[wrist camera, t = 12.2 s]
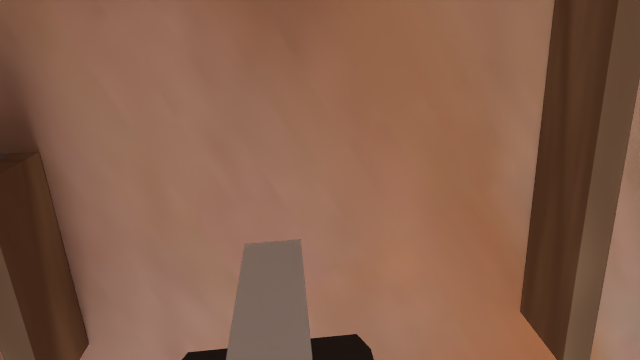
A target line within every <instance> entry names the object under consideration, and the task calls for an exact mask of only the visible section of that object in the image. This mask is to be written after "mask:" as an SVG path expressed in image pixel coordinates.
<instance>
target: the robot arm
mask: <svg viewBox="0 0 640 360" xmlns="http://www.w3.org/2000/svg"><path fill="white" fill-rule="evenodd" d="M182 360H374V359H373V355H372V352H371V349H370V348H369V347H368V346H367V345H366V344H365V343H364V341H363V340H362V339H361V338H360V337H359V336H358V335H357V334H353V335H342V336H332V337H322V338H312V339H310V330H309V320H308V310H307V300H306V289H305V279H304V269H303V259H302V249H301V239H298V240H287V241H275V242H263V243H252V244H245V245H244V251H243V258H242V264H241V270H240V276H239V282H238V288H237V295H236V301H235V307H234V313H233V319H232V325H231V332H230V338H229V344H228V349H218V350H208V351H198V352H188V353H187V354H186V356H185V357H184V358H183V359H182Z"/></svg>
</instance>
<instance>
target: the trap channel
mask: <svg viewBox="0 0 640 360" xmlns="http://www.w3.org/2000/svg"><path fill="white" fill-rule="evenodd" d="M639 79H640V0H555V6H554V15H553V24H552V33H551V42H550V51H549V60H548V69H547V78H546V87H545V96H544V105H543V114H542V123H541V132H540V141H539V150H538V158H537V167H536V176H535V185H534V194H533V203H532V212H531V221H530V230H529V239H528V248H527V257H526V266H525V275H524V284H523V293H522V302H521V311H520V312H521V313H522V315H523V316H524V317H525V318H526V320H527V321H528V322H529V324H530V325H531V326H532V328H533V329H534V330H535V332H536V333H537V334H538V335H539V337H540V338H541V339H542V341H543V342H544V343H545V345H546V346H547V347H548V348H549V350H550V351H551V352H552V354H553V355H554V356H555V358H556V359H557V360H590V356H591V350H592V344H593V339H594V333H595V327H596V322H597V316H598V310H599V305H600V299H601V294H602V288H603V282H604V277H605V271H606V265H607V260H608V254H609V248H610V243H611V237H612V231H613V226H614V220H615V215H616V209H617V203H618V198H619V192H620V186H621V181H622V175H623V169H624V164H625V158H626V153H627V147H628V141H629V136H630V130H631V124H632V119H633V113H634V107H635V102H636V96H637V90H638V85H639ZM88 345H89V343H88V340H87V336H86V332H85V328H84V324H83V320H82V316H81V312H80V309H79V305H78V301H77V297H76V293H75V289H74V285H73V282H72V278H71V274H70V270H69V266H68V262H67V258H66V254H65V251H64V247H63V243H62V239H61V235H60V231H59V227H58V223H57V220H56V216H55V212H54V208H53V204H52V200H51V196H50V193H49V189H48V185H47V181H46V177H45V173H44V169H43V165H42V162H41V158H40V154H39V152H37V153H21V154H4V155H0V349H1V352H2V355H3V358H4V360H79V359H80V358H81V356H82V354H83V353H84V351H85V350H86V348H87V346H88Z"/></svg>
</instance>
